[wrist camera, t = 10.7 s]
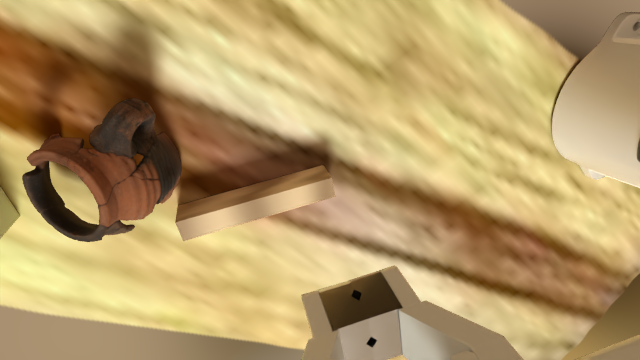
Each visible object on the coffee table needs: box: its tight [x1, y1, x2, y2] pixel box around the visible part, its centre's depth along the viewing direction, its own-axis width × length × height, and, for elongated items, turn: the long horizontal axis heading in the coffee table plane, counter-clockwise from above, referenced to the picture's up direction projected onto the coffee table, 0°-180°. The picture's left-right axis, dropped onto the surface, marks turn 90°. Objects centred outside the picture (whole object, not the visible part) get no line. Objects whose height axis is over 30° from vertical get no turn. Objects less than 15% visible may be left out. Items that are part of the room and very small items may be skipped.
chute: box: [175, 165, 335, 241], centre depth 30 cm, size 14×22×3 cm, turn 10°
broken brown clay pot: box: [22, 98, 181, 242], centre depth 29 cm, size 12×10×8 cm
